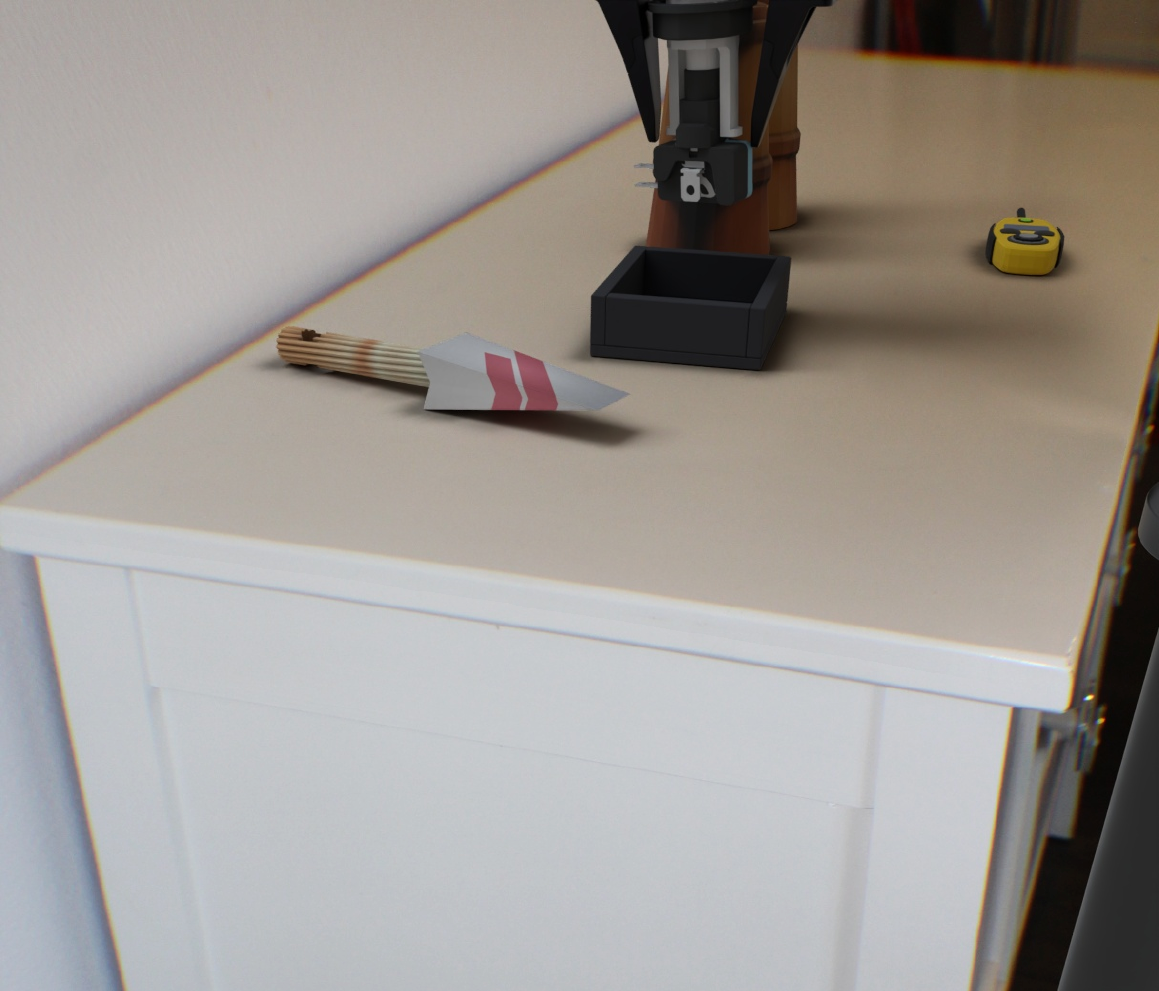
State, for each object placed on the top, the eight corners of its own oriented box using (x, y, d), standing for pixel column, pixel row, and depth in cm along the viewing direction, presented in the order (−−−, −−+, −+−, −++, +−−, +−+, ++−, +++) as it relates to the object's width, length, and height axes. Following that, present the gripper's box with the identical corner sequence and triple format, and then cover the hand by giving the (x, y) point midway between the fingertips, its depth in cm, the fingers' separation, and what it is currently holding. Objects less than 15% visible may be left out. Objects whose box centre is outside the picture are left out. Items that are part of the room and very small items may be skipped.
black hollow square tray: (786, 313, 83) (791, 256, 81) (760, 370, 74) (765, 308, 72) (632, 301, 84) (634, 245, 82) (589, 356, 76) (590, 295, 74)
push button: (613, 206, 75) (602, -18, 69) (662, 185, 78) (656, -29, 72) (727, 212, 72) (726, -21, 66) (772, 190, 75) (776, -33, 69)
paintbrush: (590, 380, 62) (258, 325, 72) (591, 442, 64) (267, 380, 73) (636, 358, 65) (311, 307, 74) (637, 418, 67) (318, 361, 76)
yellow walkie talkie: (990, 241, 89) (988, 191, 101) (984, 273, 90) (983, 220, 102) (1069, 246, 89) (1059, 195, 100) (1063, 278, 90) (1053, 224, 101)
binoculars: (755, 270, 90) (785, -113, 78) (630, 259, 92) (641, -116, 80) (807, 210, 104) (839, -123, 93) (697, 201, 106) (715, -126, 94)
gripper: (943, -234, 69) (897, 127, 78) (567, -234, 72) (566, 111, 81) (933, -243, 60) (884, 165, 69) (506, -243, 63) (513, 145, 73)
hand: (704, 144), depth 73 cm, fingers closed on push button, 5 cm apart
